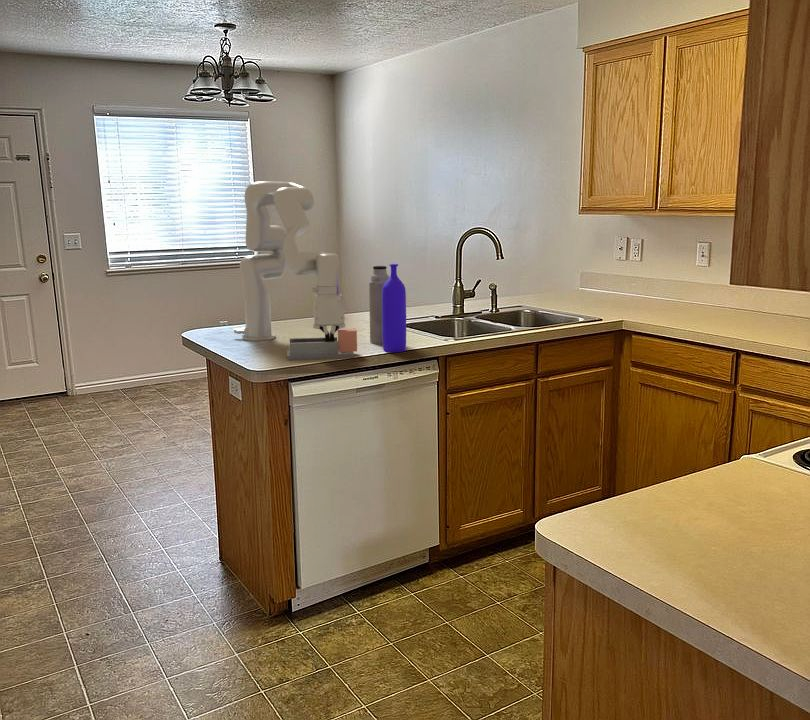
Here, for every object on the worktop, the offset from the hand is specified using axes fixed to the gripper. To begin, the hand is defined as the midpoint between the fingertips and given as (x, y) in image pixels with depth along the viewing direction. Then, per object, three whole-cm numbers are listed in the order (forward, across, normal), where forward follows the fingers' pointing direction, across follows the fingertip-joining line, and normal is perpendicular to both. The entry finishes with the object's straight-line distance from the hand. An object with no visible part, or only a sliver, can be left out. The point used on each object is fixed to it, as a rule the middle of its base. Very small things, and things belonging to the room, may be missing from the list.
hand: (329, 345), depth 251 cm
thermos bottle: (+4, +20, +21) cm, 29 cm away
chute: (+4, -3, 0) cm, 5 cm away
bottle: (+4, +23, +5) cm, 23 cm away
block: (+2, +6, 0) cm, 6 cm away
